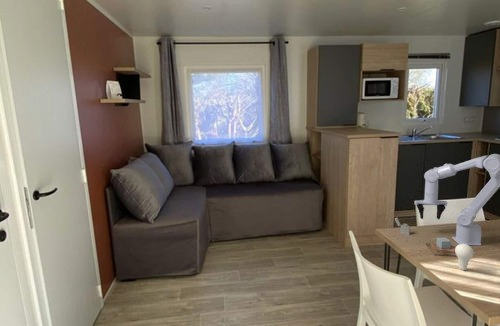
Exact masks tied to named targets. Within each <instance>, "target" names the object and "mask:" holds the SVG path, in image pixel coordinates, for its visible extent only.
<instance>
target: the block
mask: <svg viewBox="0 0 500 326" xmlns="http://www.w3.org/2000/svg"><path fill="white" fill-rule="evenodd" d="M436 243H437V244H436V246H437V247H438V248H439V249H450V248H451V244H452V241H451V240H450V239H449V238H447V237H437V238H436Z"/></svg>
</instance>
